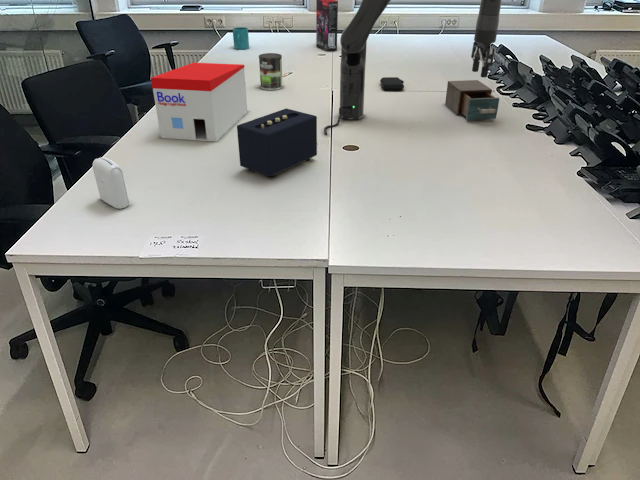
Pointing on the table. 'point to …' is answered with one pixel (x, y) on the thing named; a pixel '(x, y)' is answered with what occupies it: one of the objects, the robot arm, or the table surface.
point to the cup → (240, 38)
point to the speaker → (277, 141)
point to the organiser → (461, 87)
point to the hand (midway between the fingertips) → (479, 74)
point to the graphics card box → (326, 24)
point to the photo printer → (110, 182)
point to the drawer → (479, 105)
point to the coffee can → (270, 71)
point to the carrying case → (392, 83)
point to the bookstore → (199, 100)
